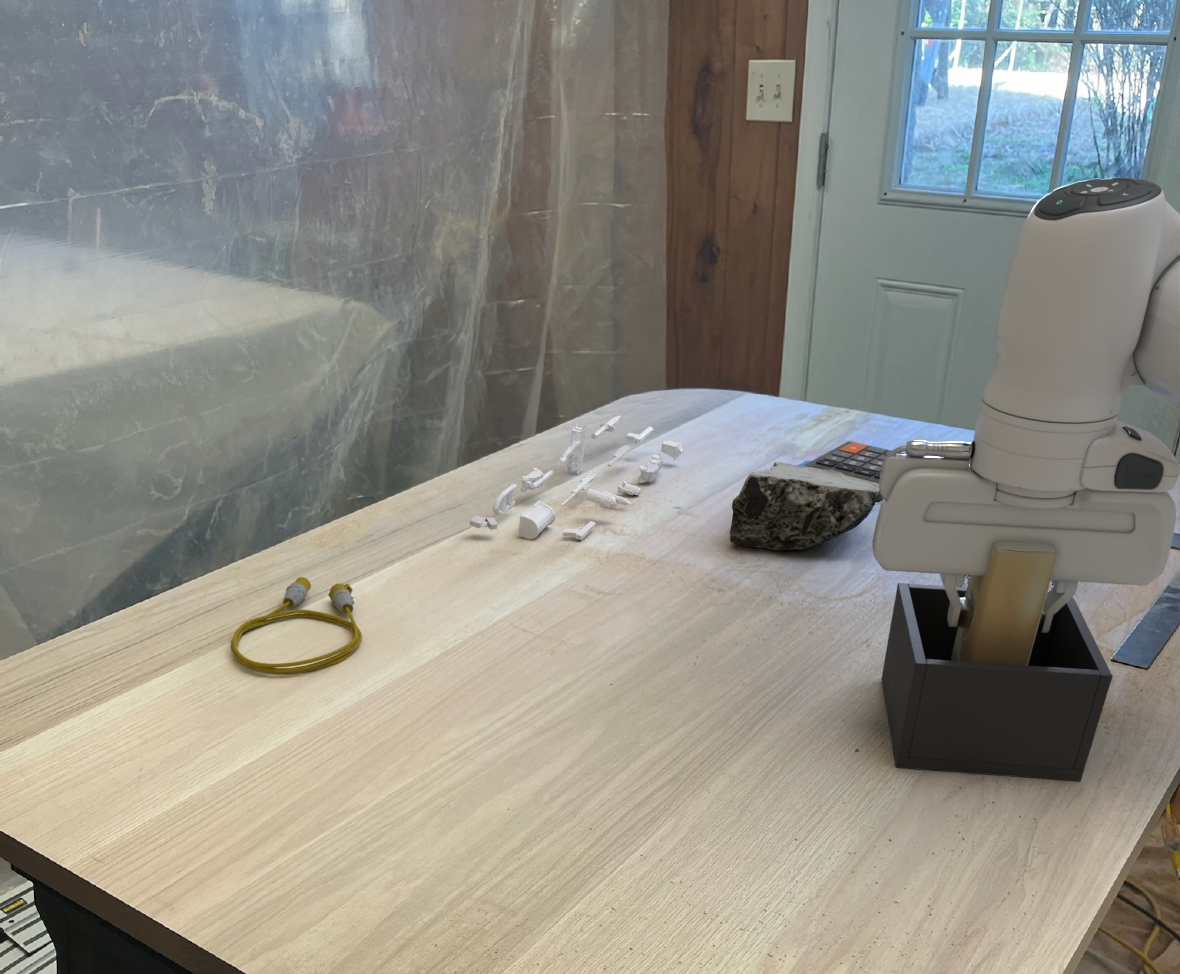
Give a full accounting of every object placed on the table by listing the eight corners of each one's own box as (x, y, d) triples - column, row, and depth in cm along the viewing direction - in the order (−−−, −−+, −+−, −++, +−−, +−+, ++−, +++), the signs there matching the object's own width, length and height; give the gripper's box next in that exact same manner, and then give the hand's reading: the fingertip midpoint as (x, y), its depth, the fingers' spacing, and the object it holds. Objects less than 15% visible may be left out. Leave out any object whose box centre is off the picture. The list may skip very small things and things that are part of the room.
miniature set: (607, 434, 148) (693, 463, 145) (467, 547, 123) (568, 585, 120) (613, 386, 144) (702, 415, 141) (470, 493, 119) (574, 530, 116)
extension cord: (411, 614, 108) (409, 594, 107) (305, 689, 96) (302, 668, 95) (307, 588, 112) (304, 569, 111) (194, 657, 101) (189, 636, 100)
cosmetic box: (949, 658, 92) (979, 513, 85) (1004, 661, 92) (1039, 515, 85) (962, 699, 87) (996, 547, 80) (1021, 702, 87) (1060, 550, 80)
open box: (1045, 690, 97) (1071, 592, 92) (1080, 781, 86) (1113, 676, 81) (881, 679, 98) (897, 582, 93) (895, 767, 87) (915, 663, 82)
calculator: (934, 458, 141) (879, 493, 131) (933, 466, 141) (878, 501, 132) (849, 439, 147) (790, 471, 137) (848, 446, 147) (789, 478, 138)
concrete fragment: (743, 479, 131) (864, 415, 123) (780, 564, 132) (903, 505, 124) (697, 490, 118) (828, 419, 110) (738, 583, 119) (871, 519, 111)
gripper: (889, 453, 77) (860, 637, 85) (1206, 469, 75) (1146, 655, 83) (882, 424, 83) (855, 600, 90) (1178, 438, 81) (1124, 616, 88)
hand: (997, 626), depth 87 cm, fingers closed on cosmetic box, 4 cm apart
